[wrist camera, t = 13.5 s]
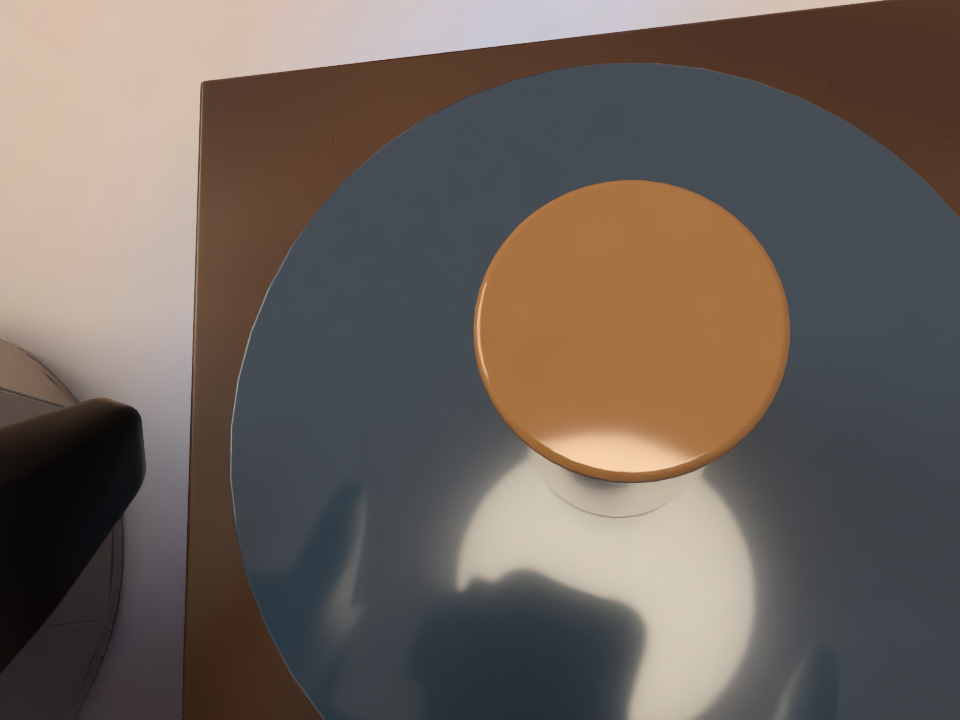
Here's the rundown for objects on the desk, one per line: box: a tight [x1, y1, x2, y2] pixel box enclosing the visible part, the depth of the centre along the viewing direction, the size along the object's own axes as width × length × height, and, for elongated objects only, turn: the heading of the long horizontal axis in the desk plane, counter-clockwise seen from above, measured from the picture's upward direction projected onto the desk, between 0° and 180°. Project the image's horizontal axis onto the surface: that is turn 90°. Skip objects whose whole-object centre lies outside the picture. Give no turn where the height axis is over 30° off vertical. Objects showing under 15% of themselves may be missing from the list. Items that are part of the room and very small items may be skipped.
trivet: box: [182, 0, 960, 720], centre depth 15 cm, size 14×14×3 cm
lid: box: [229, 63, 960, 720], centre depth 10 cm, size 12×12×7 cm
